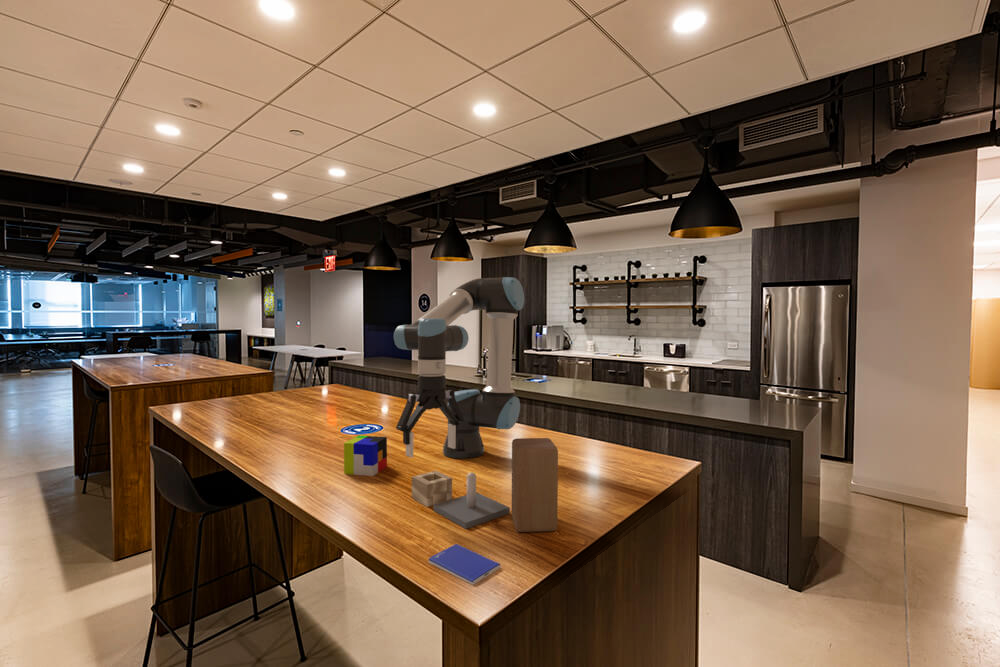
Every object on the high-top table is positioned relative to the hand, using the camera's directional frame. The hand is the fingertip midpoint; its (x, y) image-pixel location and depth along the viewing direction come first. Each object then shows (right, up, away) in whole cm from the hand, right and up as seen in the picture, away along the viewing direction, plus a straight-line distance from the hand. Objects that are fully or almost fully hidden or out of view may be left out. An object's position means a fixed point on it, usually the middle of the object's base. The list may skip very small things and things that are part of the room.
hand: (431, 451), depth 130 cm
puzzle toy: (-25, -13, +25) cm, 38 cm away
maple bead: (0, -13, +1) cm, 13 cm away
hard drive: (+12, -15, -34) cm, 39 cm away
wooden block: (+27, -14, -15) cm, 34 cm away
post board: (+12, -14, -8) cm, 19 cm away
